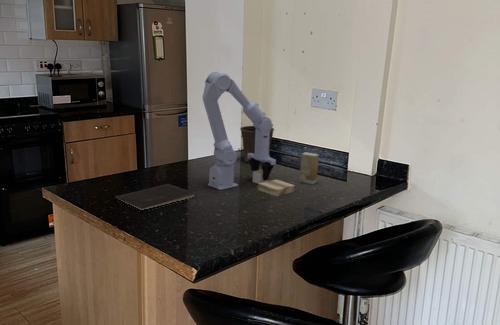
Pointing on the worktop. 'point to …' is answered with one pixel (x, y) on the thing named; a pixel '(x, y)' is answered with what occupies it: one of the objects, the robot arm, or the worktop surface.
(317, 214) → the worktop surface
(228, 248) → the worktop surface
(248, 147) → the plant pot
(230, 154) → the robot arm
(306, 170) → the skincare box
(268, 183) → the oak plinth
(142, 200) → the hardcover book
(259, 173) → the cream cube
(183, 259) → the worktop surface
